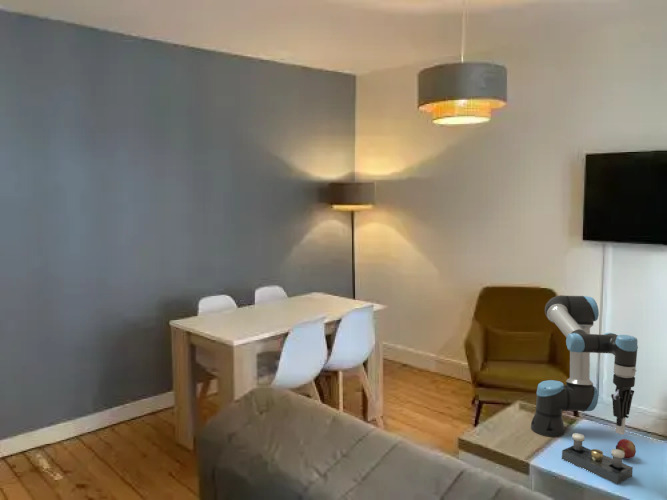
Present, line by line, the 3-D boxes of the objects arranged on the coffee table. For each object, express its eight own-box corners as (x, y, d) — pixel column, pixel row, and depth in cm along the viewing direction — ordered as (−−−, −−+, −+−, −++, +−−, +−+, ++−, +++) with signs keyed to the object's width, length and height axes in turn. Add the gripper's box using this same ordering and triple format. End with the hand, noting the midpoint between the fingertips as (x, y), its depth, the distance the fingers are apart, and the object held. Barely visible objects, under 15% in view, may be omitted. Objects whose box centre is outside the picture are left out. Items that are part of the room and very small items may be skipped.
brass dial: (588, 457, 226) (589, 450, 226) (594, 455, 229) (595, 447, 229) (598, 462, 223) (599, 454, 223) (604, 459, 225) (605, 451, 225)
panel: (561, 459, 233) (562, 450, 233) (576, 452, 239) (577, 444, 239) (617, 484, 213) (618, 474, 213) (632, 476, 220) (632, 467, 219)
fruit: (634, 464, 230) (636, 446, 229) (614, 459, 234) (615, 441, 233) (635, 457, 237) (637, 439, 236) (615, 452, 241) (617, 434, 240)
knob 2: (608, 464, 219) (609, 450, 219) (614, 461, 222) (615, 448, 221) (619, 469, 216) (620, 455, 215) (625, 466, 218) (626, 452, 218)
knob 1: (569, 447, 233) (570, 434, 233) (575, 445, 236) (576, 432, 235) (579, 452, 230) (580, 438, 229) (585, 449, 232) (586, 436, 232)
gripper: (625, 380, 208) (620, 440, 210) (642, 375, 215) (638, 432, 218) (605, 375, 214) (601, 433, 217) (623, 369, 222) (619, 426, 224)
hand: (619, 433), depth 217 cm, fingers closed
